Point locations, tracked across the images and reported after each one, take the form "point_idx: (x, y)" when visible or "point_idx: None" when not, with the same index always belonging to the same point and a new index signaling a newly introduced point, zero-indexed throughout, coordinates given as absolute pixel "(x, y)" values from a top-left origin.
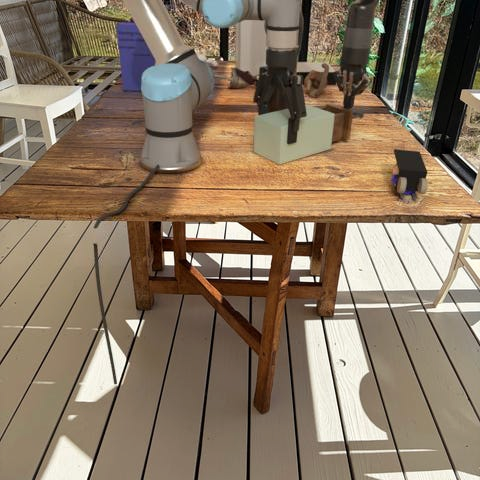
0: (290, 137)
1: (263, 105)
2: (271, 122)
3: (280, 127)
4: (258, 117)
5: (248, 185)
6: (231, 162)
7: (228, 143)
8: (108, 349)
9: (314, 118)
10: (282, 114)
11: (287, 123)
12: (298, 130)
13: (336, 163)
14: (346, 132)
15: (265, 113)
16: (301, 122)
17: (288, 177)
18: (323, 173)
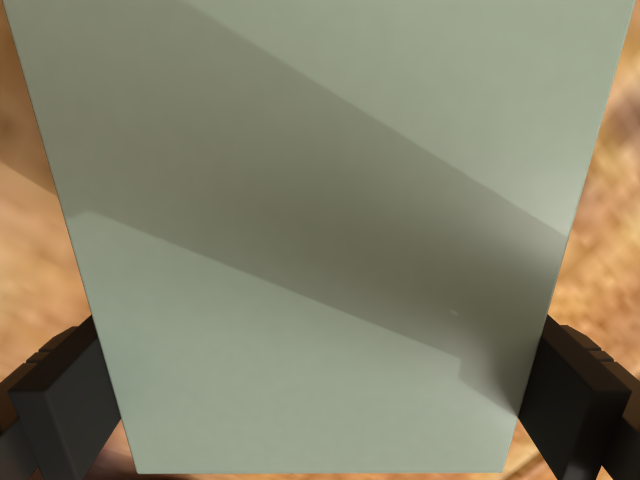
0: None
1: (18, 457)
2: (363, 467)
3: (490, 467)
4: (188, 472)
5: (475, 474)
6: None
7: (61, 322)
8: None
9: (624, 25)
10: (219, 258)
11: (483, 396)
12: (572, 328)
13: (626, 37)
14: None
15: (106, 375)
16: (558, 265)
17: None
18: (634, 206)
